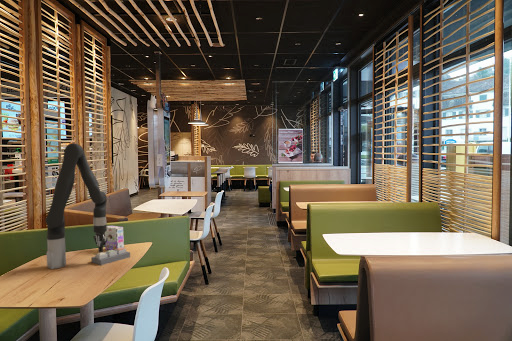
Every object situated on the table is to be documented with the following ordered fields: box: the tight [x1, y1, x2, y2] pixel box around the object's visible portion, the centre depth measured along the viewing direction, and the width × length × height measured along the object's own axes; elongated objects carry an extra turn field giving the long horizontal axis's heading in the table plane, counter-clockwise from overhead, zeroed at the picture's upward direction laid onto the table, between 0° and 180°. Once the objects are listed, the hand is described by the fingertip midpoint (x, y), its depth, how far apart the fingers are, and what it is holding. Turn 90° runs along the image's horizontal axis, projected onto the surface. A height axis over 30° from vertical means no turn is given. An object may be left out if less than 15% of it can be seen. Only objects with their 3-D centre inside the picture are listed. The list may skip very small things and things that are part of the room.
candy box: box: [104, 225, 125, 251], centre depth 246 cm, size 14×6×16 cm, turn 58°
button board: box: [91, 248, 131, 266], centre depth 224 cm, size 20×11×5 cm, turn 143°
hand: (100, 251), depth 218 cm, fingers closed
